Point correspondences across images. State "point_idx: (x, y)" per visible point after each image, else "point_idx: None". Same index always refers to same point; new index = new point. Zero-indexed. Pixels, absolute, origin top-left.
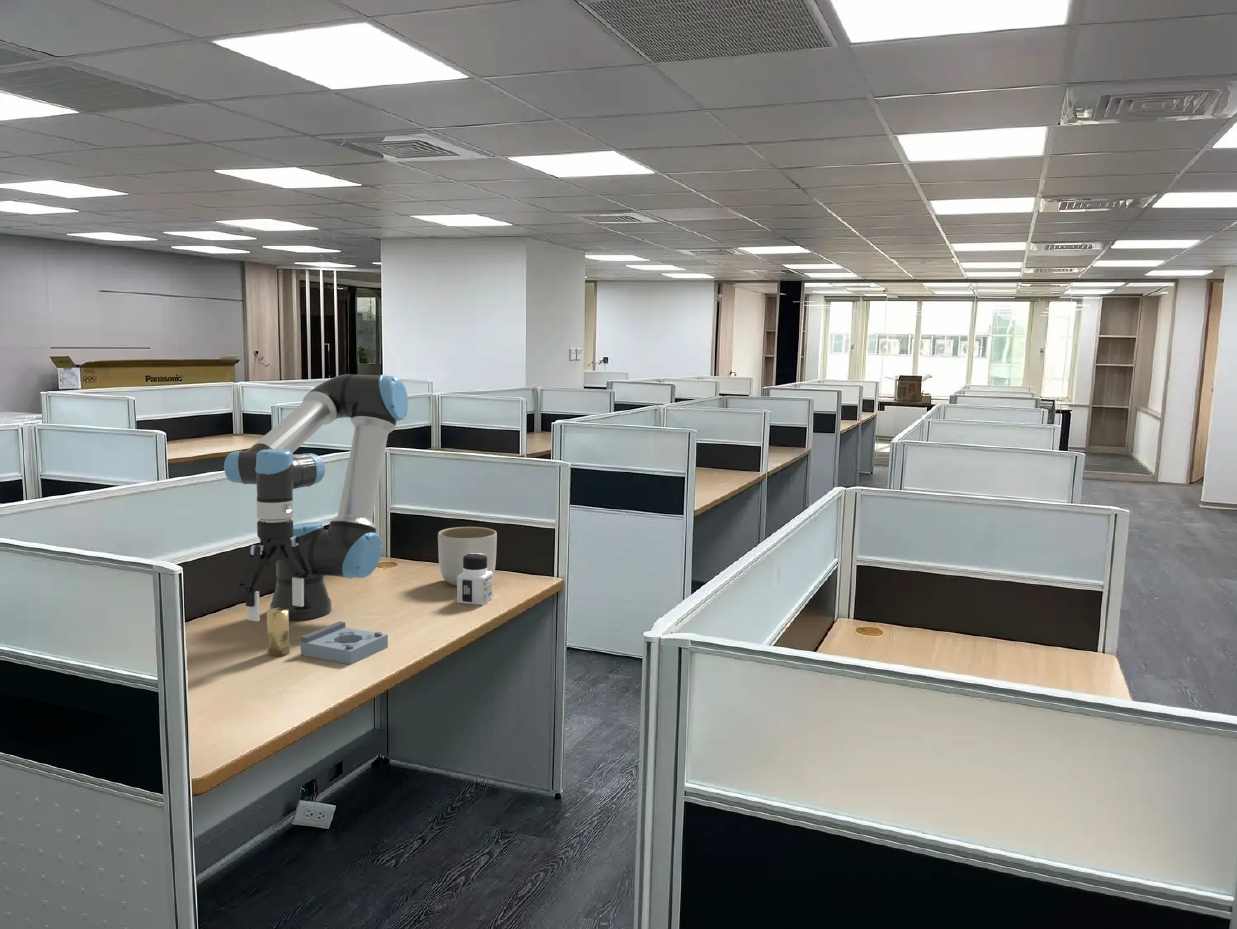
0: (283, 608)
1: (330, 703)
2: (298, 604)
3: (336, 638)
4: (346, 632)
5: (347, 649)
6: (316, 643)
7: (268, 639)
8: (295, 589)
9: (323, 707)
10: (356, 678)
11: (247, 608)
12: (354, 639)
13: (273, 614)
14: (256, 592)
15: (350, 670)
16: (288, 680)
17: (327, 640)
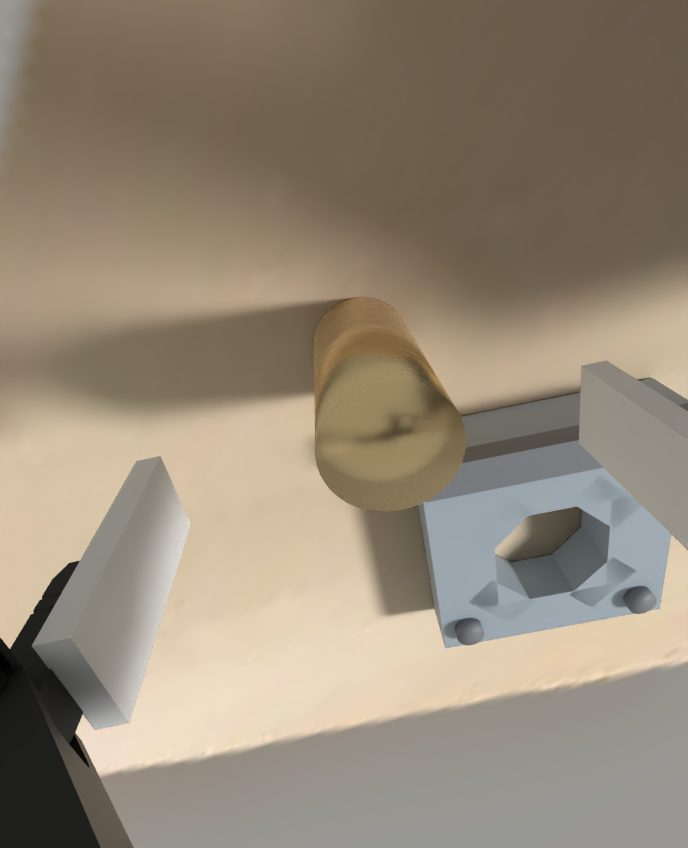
0: (450, 437)
1: (208, 747)
2: (587, 424)
3: (544, 508)
4: (621, 492)
5: (454, 631)
6: (440, 517)
7: (314, 365)
8: (662, 461)
9: (182, 753)
10: (362, 684)
11: (107, 514)
12: (598, 520)
13: (328, 481)
14: (94, 727)
15: (397, 638)
16: (215, 589)
17: (494, 518)
